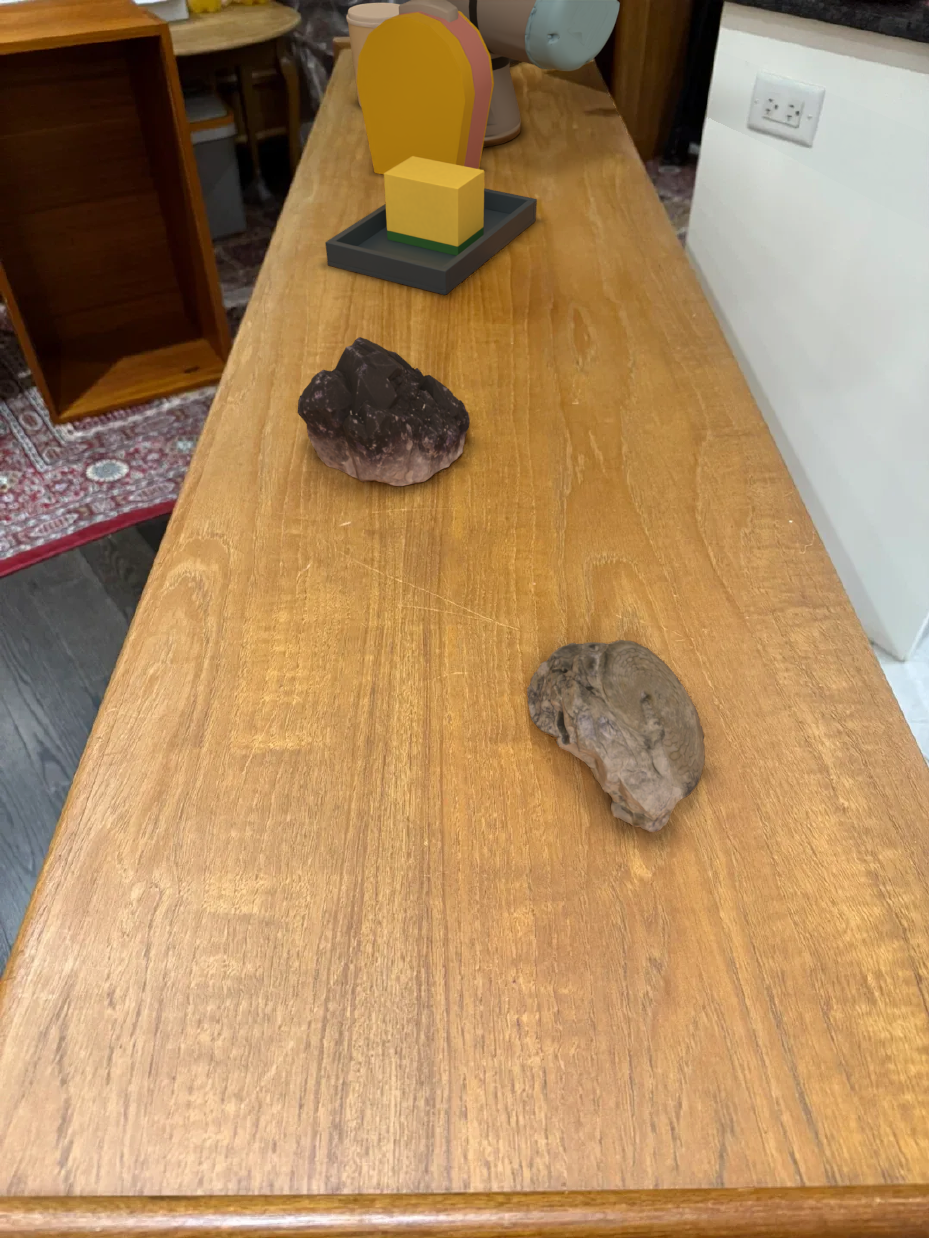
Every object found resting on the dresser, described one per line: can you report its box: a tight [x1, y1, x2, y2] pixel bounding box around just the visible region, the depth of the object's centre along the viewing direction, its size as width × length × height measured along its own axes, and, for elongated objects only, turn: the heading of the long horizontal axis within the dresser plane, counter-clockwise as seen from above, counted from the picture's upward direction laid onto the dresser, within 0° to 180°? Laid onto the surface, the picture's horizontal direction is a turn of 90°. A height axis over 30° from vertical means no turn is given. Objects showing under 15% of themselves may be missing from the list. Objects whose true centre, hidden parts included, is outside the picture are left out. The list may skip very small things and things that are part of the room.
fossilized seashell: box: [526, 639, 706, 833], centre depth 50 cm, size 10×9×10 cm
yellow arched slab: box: [357, 0, 494, 176], centre depth 108 cm, size 15×8×18 cm, turn 63°
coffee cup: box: [345, 2, 401, 107], centre depth 129 cm, size 9×9×12 cm
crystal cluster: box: [297, 336, 471, 487], centre depth 68 cm, size 13×14×10 cm
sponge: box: [383, 156, 485, 256], centre depth 96 cm, size 6×9×7 cm, turn 61°
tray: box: [325, 187, 538, 296], centre depth 98 cm, size 22×15×2 cm
